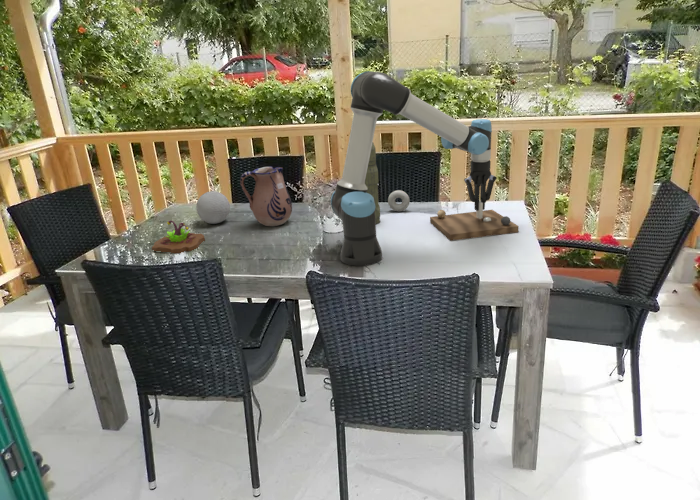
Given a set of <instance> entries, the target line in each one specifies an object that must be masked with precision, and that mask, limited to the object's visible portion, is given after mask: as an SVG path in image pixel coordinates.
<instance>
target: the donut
mask: <svg viewBox="0 0 700 500" xmlns="http://www.w3.org/2000/svg"><path fill="white" fill-rule="evenodd" d="M398 198H399V199H401V201H402V202H401V203H399V204H398V203H397V201H396V199H398ZM387 204H388V206H389V208H390V209H392V211H394V212H403V211H405V210H407V209H408V207H409V205H410V196H409V195H408V194H407V193H406V192H405V191H403V190H400V189H398V190H393V191H392V192H391V193H390V194H389V196H388V198H387Z"/></svg>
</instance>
